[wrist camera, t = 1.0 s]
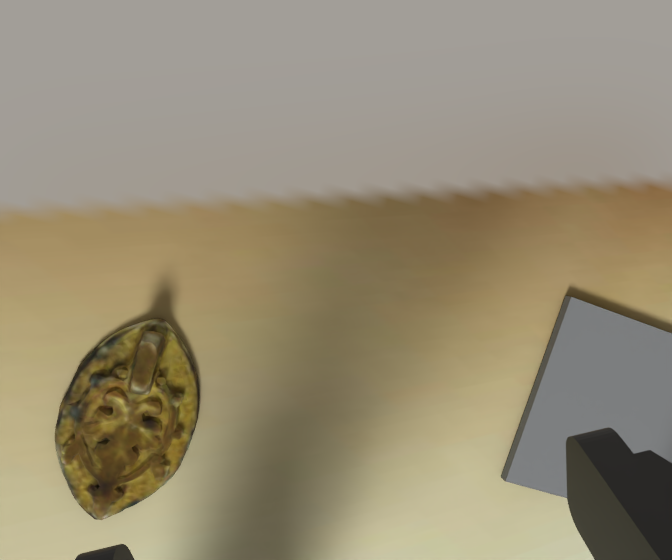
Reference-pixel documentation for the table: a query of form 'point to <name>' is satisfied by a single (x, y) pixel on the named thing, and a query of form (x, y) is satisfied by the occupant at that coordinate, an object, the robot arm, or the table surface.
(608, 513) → the robot arm
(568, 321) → the gray mat
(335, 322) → the table surface
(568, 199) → the table surface
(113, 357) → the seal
